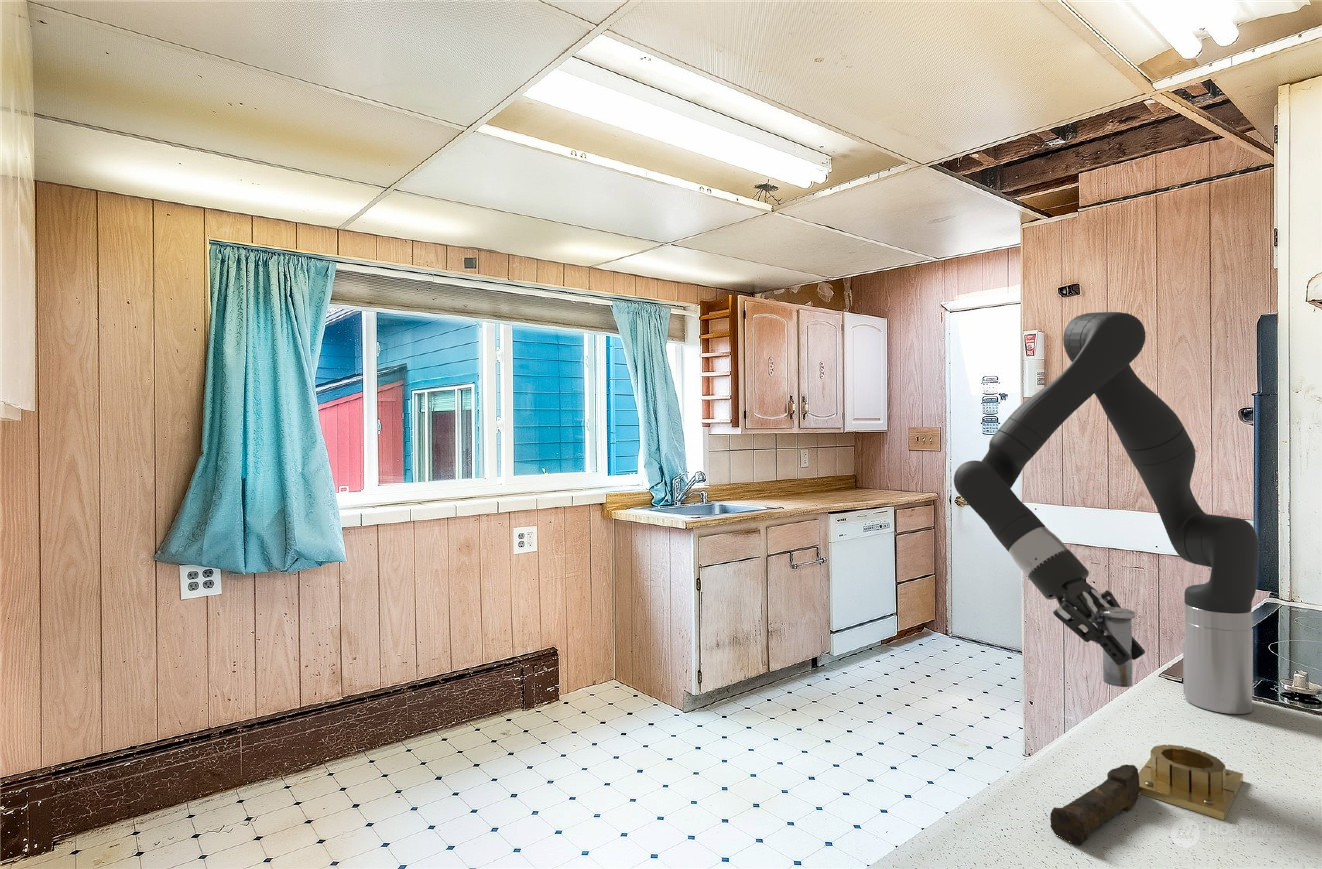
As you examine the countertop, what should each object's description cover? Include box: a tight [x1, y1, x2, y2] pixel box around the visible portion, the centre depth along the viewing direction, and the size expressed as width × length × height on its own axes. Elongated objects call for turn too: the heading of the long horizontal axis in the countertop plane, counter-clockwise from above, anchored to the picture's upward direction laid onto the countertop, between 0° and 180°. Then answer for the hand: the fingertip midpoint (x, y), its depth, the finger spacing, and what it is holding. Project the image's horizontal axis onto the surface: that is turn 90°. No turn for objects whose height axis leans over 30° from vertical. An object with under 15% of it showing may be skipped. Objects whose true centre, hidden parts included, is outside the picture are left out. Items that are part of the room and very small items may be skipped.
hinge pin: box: [1099, 607, 1136, 688], centre depth 103 cm, size 4×4×11 cm
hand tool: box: [1049, 764, 1140, 846], centre depth 88 cm, size 19×4×5 cm, turn 121°
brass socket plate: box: [1138, 744, 1244, 821], centre depth 96 cm, size 14×10×4 cm
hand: (1132, 658), depth 101 cm, fingers closed on hinge pin, 3 cm apart
